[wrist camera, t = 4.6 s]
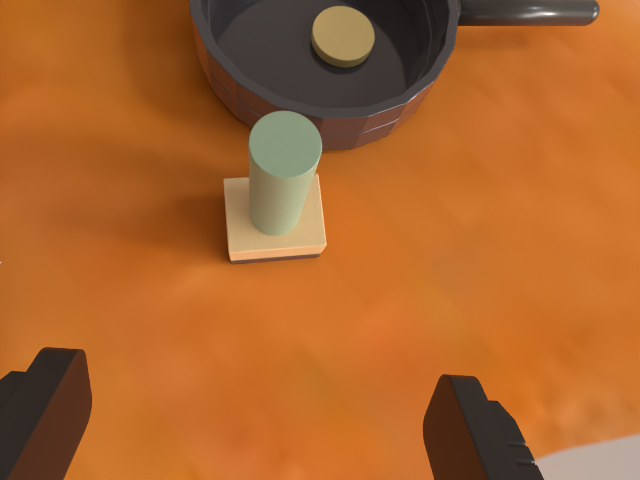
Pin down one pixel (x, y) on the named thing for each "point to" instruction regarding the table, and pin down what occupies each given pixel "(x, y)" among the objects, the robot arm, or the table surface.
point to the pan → (323, 63)
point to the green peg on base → (277, 193)
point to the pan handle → (527, 12)
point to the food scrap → (342, 36)
